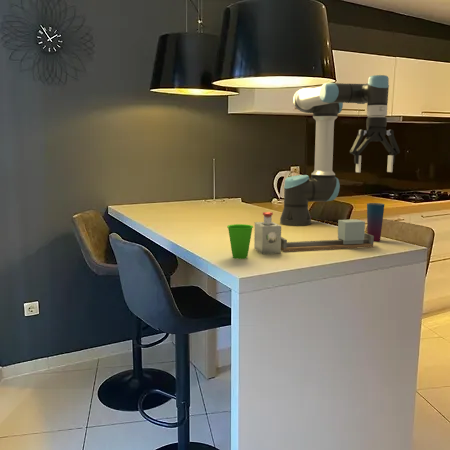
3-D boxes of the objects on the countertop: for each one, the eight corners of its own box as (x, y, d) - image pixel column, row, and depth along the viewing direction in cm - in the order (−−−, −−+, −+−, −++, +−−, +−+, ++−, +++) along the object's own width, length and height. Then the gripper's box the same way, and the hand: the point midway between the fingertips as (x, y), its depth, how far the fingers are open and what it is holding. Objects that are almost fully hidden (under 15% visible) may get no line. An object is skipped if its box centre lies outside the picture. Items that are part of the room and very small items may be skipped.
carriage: (337, 241, 194) (338, 220, 192) (356, 240, 195) (357, 219, 194) (344, 244, 188) (345, 222, 186) (363, 243, 190) (365, 221, 188)
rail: (278, 248, 188) (278, 236, 188) (365, 244, 196) (366, 233, 196) (284, 251, 183) (284, 240, 182) (373, 247, 191) (373, 235, 190)
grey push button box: (254, 248, 188) (254, 222, 187) (271, 247, 190) (272, 221, 188) (262, 254, 178) (263, 227, 177) (281, 253, 180) (281, 226, 178)
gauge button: (261, 233, 185) (261, 212, 183) (270, 232, 185) (270, 211, 184) (264, 234, 181) (264, 213, 180) (273, 234, 182) (274, 213, 181)
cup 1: (248, 261, 168) (248, 229, 166) (223, 259, 171) (223, 227, 170) (256, 255, 176) (256, 225, 175) (232, 253, 180) (232, 223, 178)
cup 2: (384, 239, 205) (386, 203, 202) (379, 242, 199) (381, 205, 197) (368, 238, 208) (370, 202, 206) (362, 240, 203) (364, 204, 200)
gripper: (351, 116, 187) (348, 173, 190) (411, 116, 192) (407, 172, 195) (342, 117, 194) (340, 171, 197) (400, 117, 199) (397, 171, 202)
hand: (374, 172), depth 196 cm, fingers open, 13 cm apart
